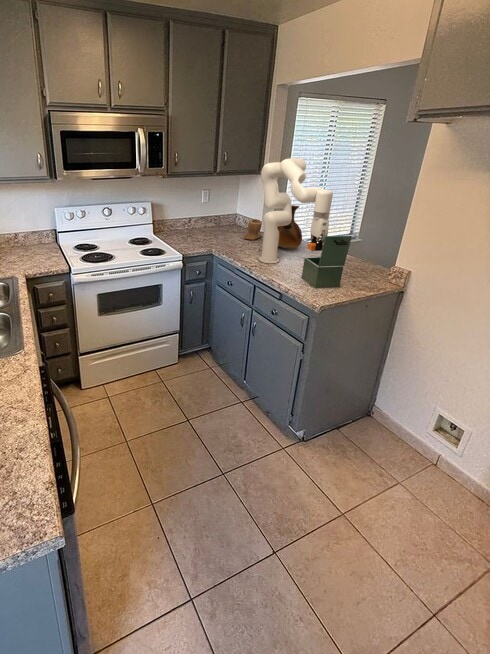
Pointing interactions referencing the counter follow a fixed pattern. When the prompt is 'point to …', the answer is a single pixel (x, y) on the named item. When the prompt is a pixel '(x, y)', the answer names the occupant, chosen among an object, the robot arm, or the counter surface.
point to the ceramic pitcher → (290, 233)
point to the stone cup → (253, 229)
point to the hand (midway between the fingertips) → (315, 248)
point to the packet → (312, 246)
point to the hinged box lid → (334, 251)
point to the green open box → (321, 273)
